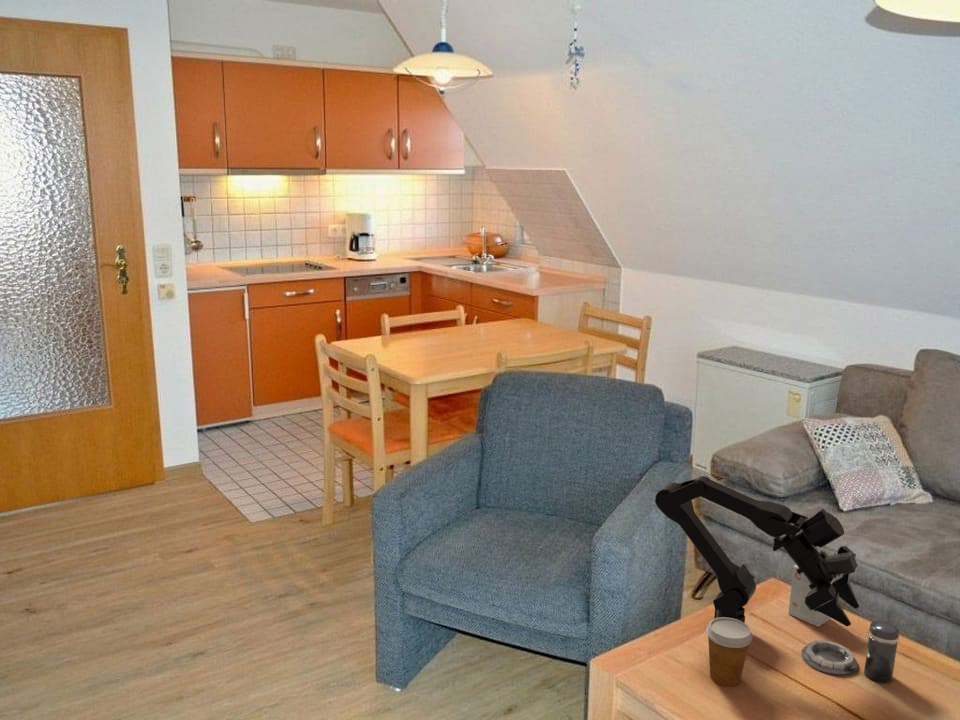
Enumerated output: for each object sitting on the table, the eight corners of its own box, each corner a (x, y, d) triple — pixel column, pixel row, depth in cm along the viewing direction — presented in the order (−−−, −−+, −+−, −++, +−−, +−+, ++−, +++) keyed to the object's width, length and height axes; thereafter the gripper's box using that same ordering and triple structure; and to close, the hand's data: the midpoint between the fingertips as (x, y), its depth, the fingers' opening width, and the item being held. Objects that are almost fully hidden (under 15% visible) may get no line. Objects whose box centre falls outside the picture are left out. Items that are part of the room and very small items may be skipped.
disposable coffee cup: (748, 670, 184) (753, 620, 182) (747, 695, 176) (752, 643, 173) (704, 661, 187) (708, 612, 185) (700, 685, 179) (704, 634, 176)
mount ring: (790, 654, 191) (791, 646, 190) (823, 640, 197) (824, 633, 196) (834, 681, 181) (835, 672, 181) (868, 665, 187) (869, 657, 187)
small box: (831, 619, 206) (837, 570, 204) (817, 627, 203) (823, 578, 200) (801, 606, 213) (806, 558, 210) (787, 613, 209) (792, 565, 206)
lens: (857, 672, 184) (863, 624, 182) (874, 665, 187) (880, 617, 185) (882, 686, 180) (888, 637, 177) (898, 678, 183) (905, 630, 180)
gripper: (826, 554, 176) (877, 618, 172) (844, 525, 191) (892, 583, 187) (784, 579, 182) (832, 641, 178) (805, 548, 197) (850, 605, 193)
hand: (853, 616), depth 184 cm, fingers open, 9 cm apart
